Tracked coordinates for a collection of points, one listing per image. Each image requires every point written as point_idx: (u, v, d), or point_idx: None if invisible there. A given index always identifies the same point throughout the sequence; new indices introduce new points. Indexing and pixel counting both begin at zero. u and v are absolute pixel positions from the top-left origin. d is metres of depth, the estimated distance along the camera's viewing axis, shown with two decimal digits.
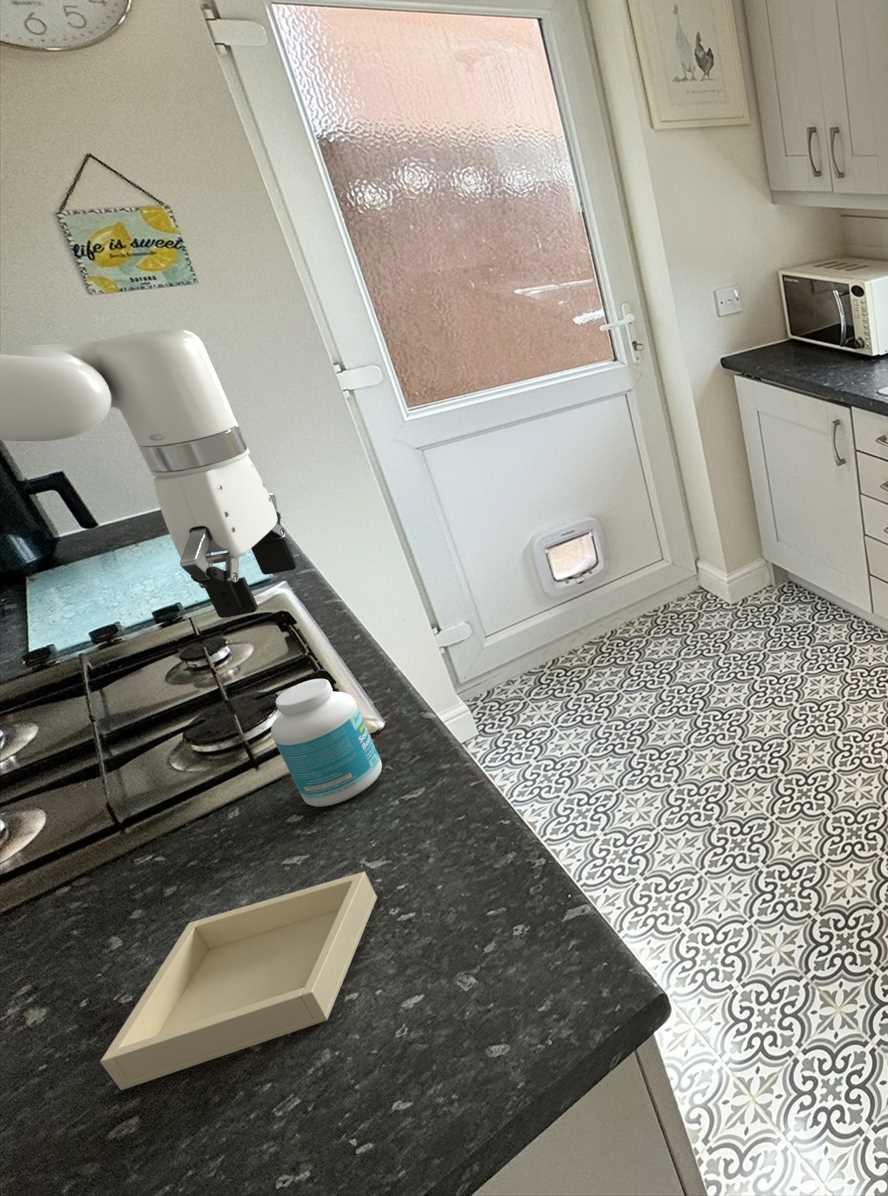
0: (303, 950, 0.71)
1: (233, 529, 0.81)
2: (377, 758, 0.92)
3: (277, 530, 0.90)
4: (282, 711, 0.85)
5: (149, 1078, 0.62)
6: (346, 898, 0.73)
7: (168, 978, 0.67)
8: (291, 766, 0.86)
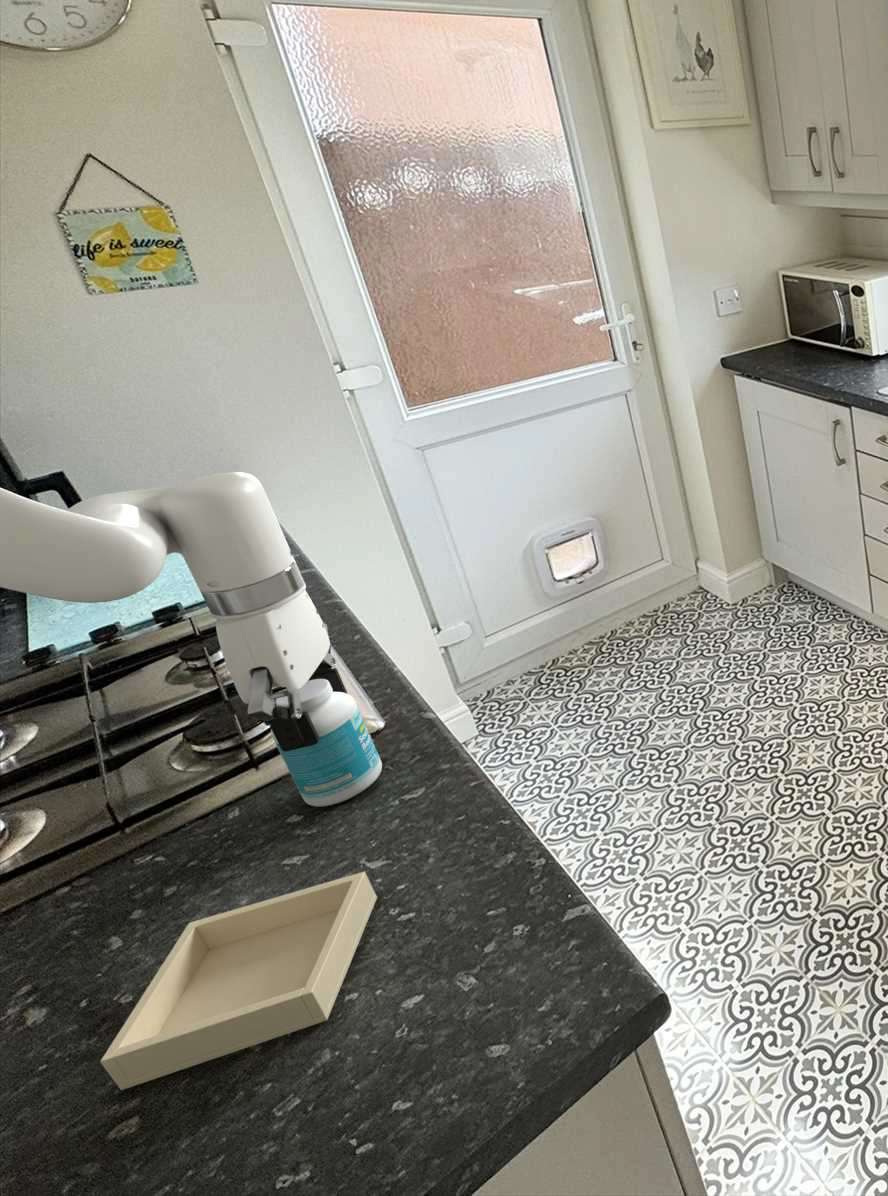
0: (303, 950, 0.71)
1: (291, 666, 0.82)
2: (377, 758, 0.92)
3: (328, 660, 0.90)
4: None
5: (149, 1078, 0.62)
6: (346, 898, 0.73)
7: (168, 978, 0.67)
8: (291, 766, 0.86)
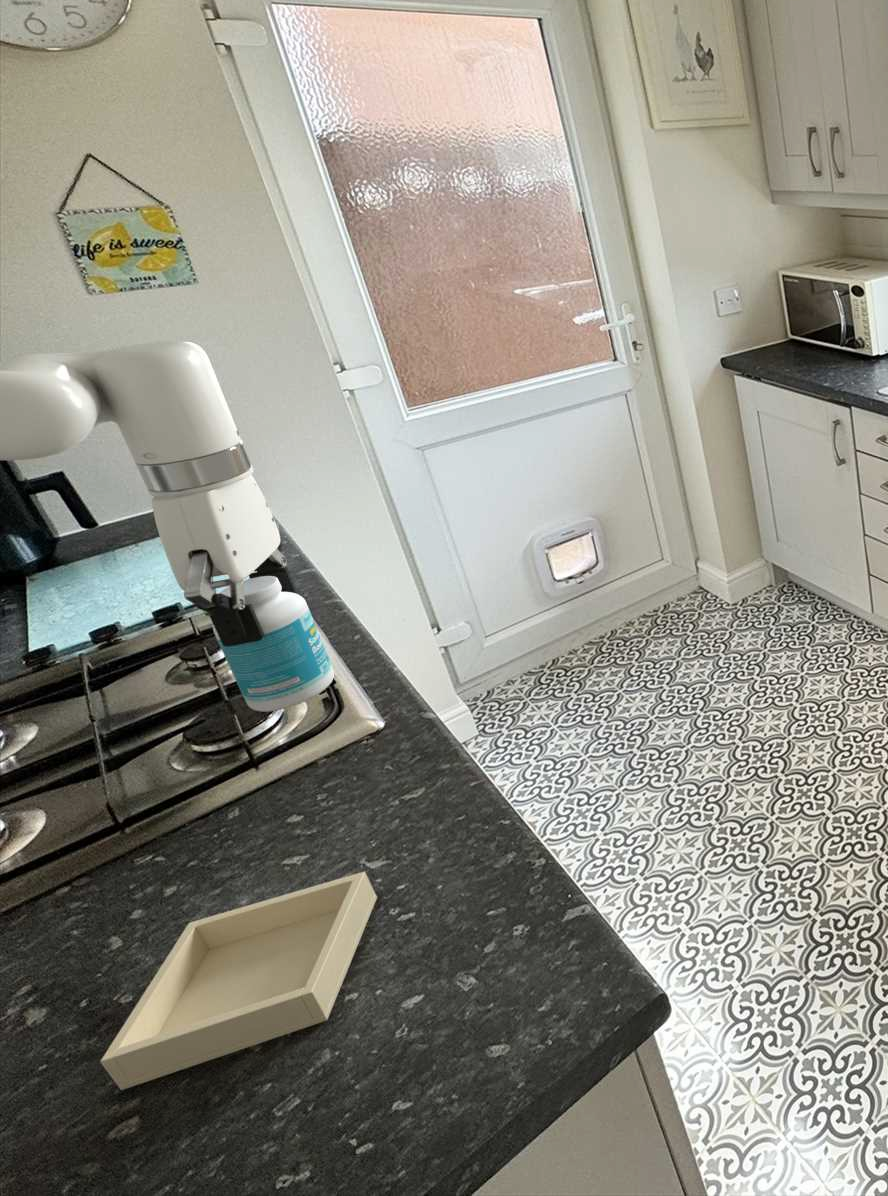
0: (303, 950, 0.71)
1: (234, 552, 0.77)
2: (329, 665, 0.87)
3: (278, 558, 0.85)
4: None
5: (149, 1078, 0.62)
6: (346, 898, 0.73)
7: (168, 978, 0.67)
8: (234, 665, 0.80)
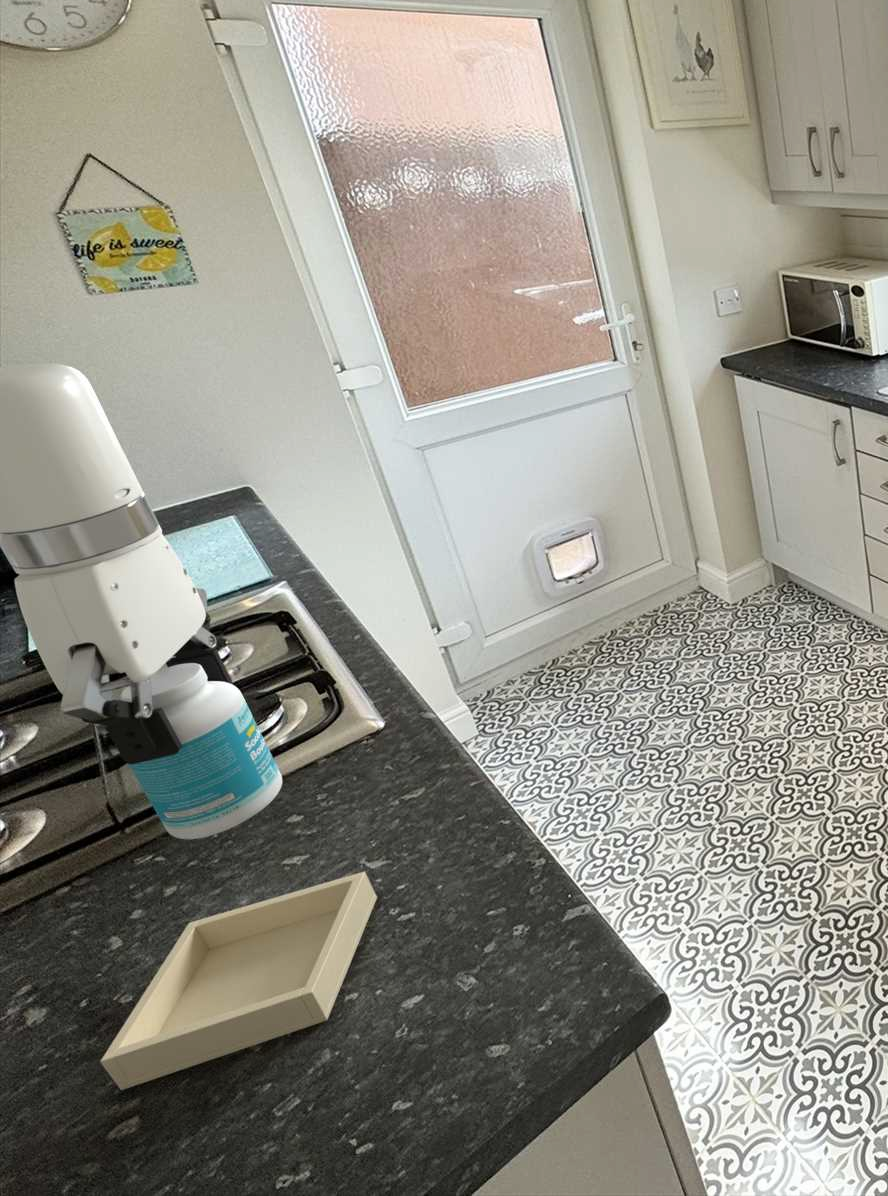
0: (303, 950, 0.71)
1: (135, 643, 0.58)
2: (274, 772, 0.68)
3: (204, 638, 0.66)
4: None
5: (149, 1078, 0.62)
6: (346, 898, 0.73)
7: (168, 978, 0.67)
8: (144, 784, 0.62)
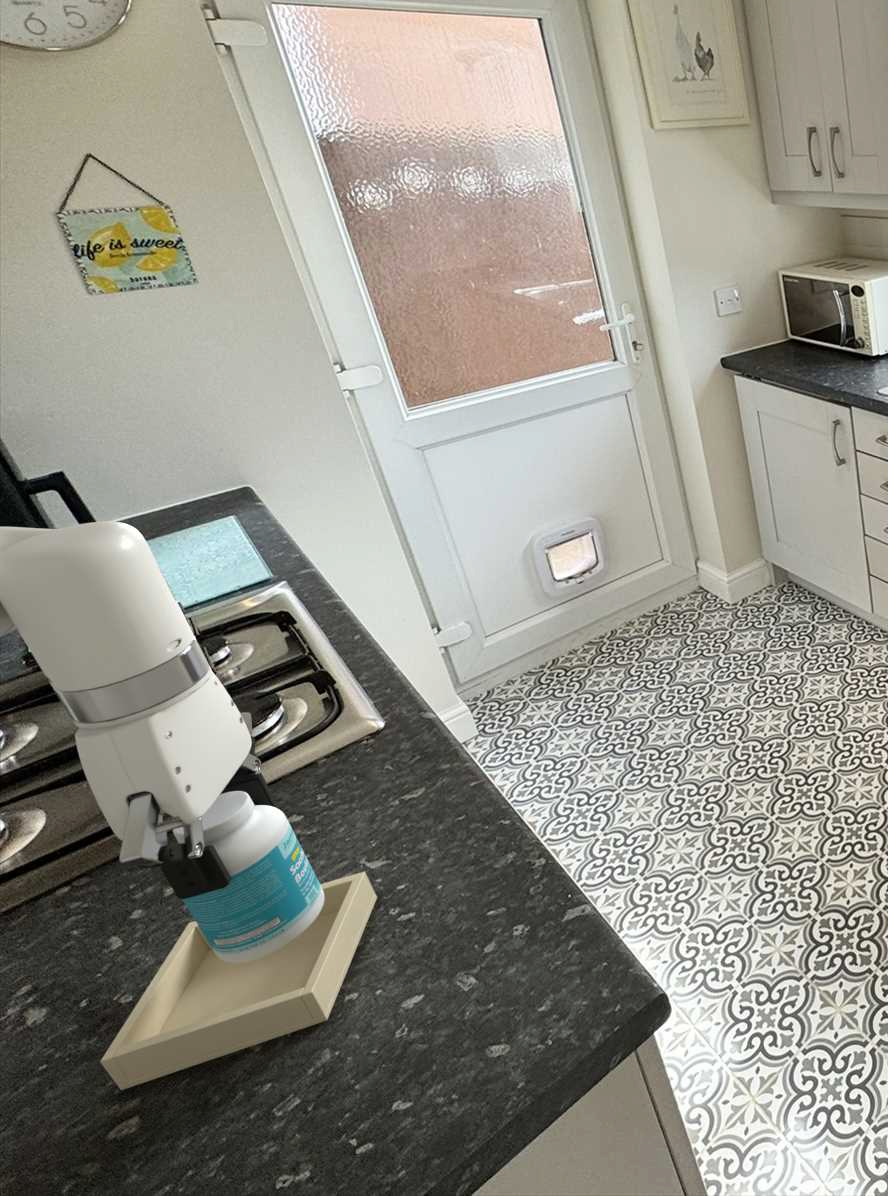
0: (303, 950, 0.71)
1: (188, 787, 0.59)
2: (317, 890, 0.70)
3: (250, 764, 0.68)
4: (181, 842, 0.62)
5: (149, 1078, 0.62)
6: (346, 898, 0.73)
7: (168, 978, 0.67)
8: (195, 914, 0.63)
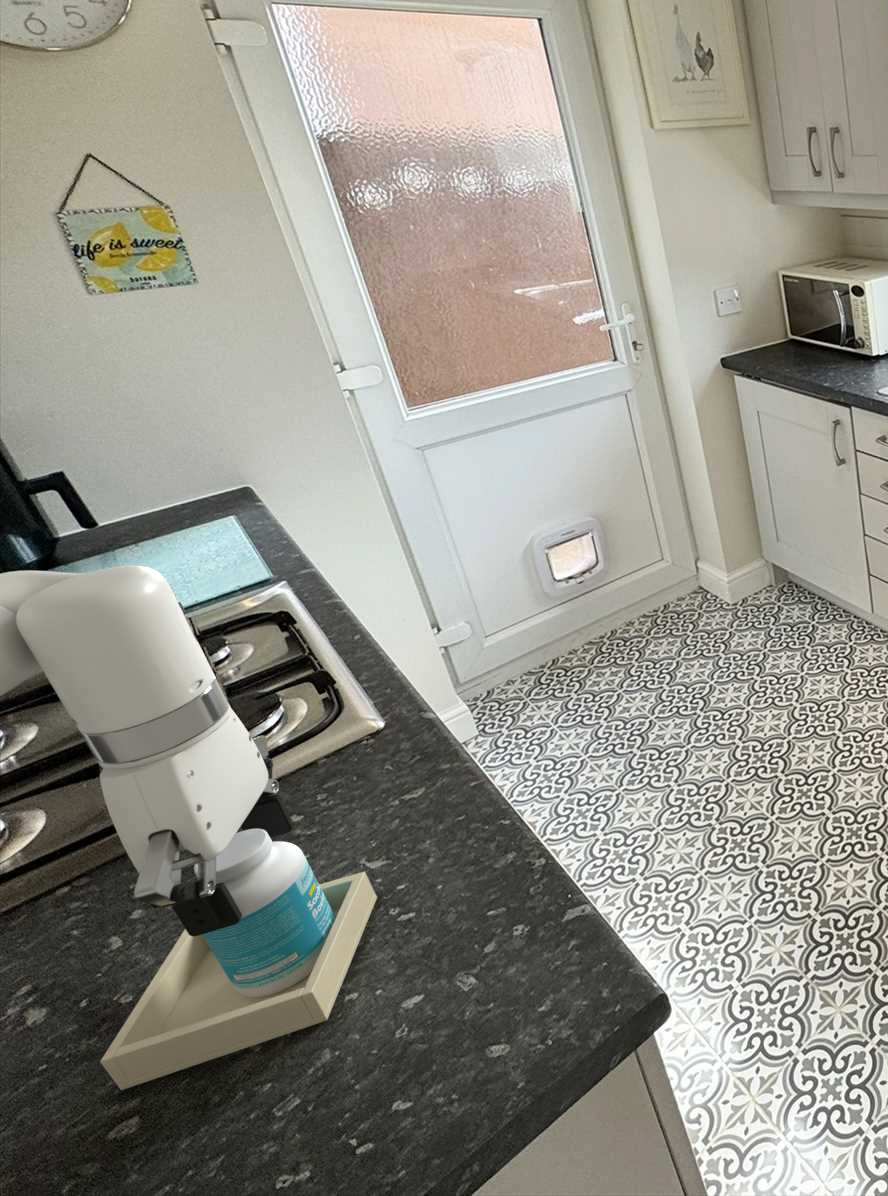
0: None
1: (208, 824, 0.61)
2: None
3: (268, 788, 0.70)
4: None
5: (149, 1078, 0.62)
6: (346, 898, 0.73)
7: (168, 978, 0.67)
8: (216, 950, 0.65)
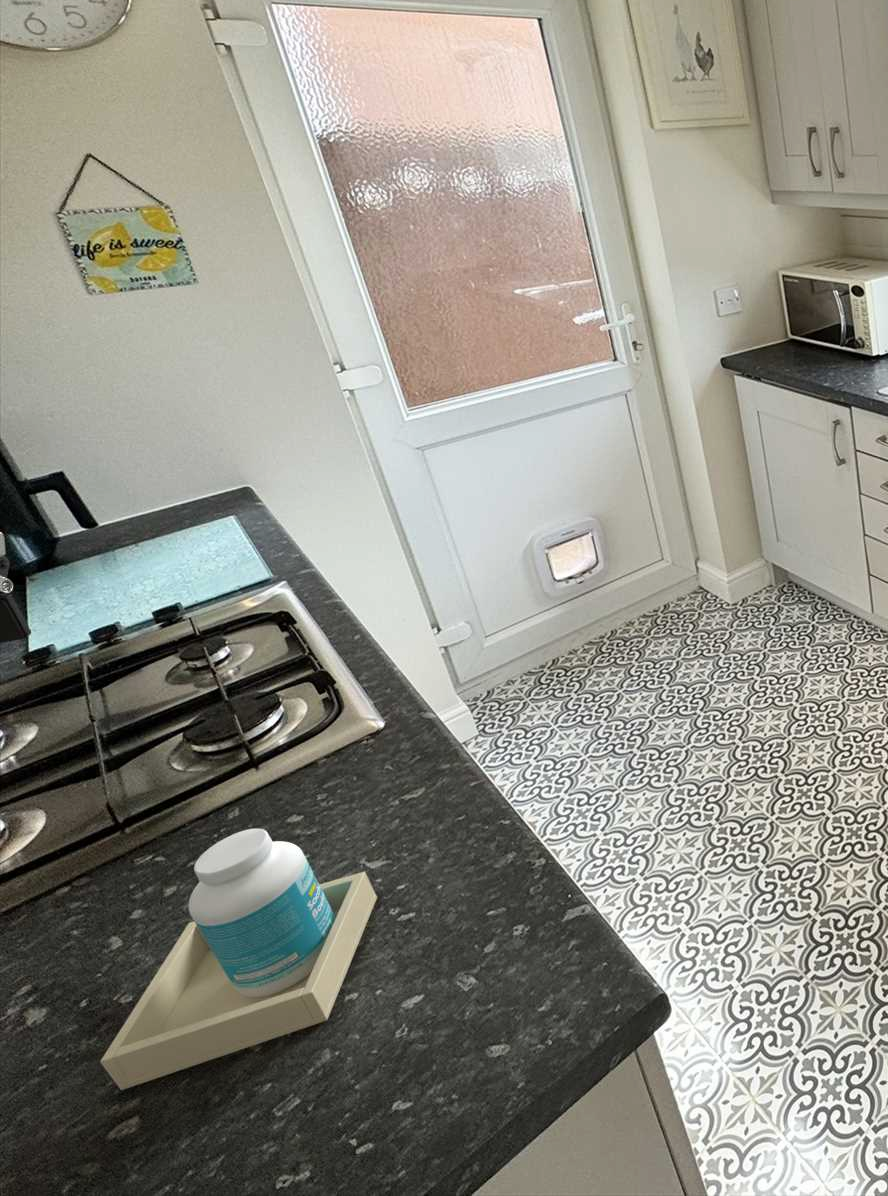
0: None
1: None
2: None
3: None
4: (202, 881, 0.64)
5: (149, 1078, 0.62)
6: (346, 898, 0.73)
7: (168, 978, 0.67)
8: (216, 950, 0.65)
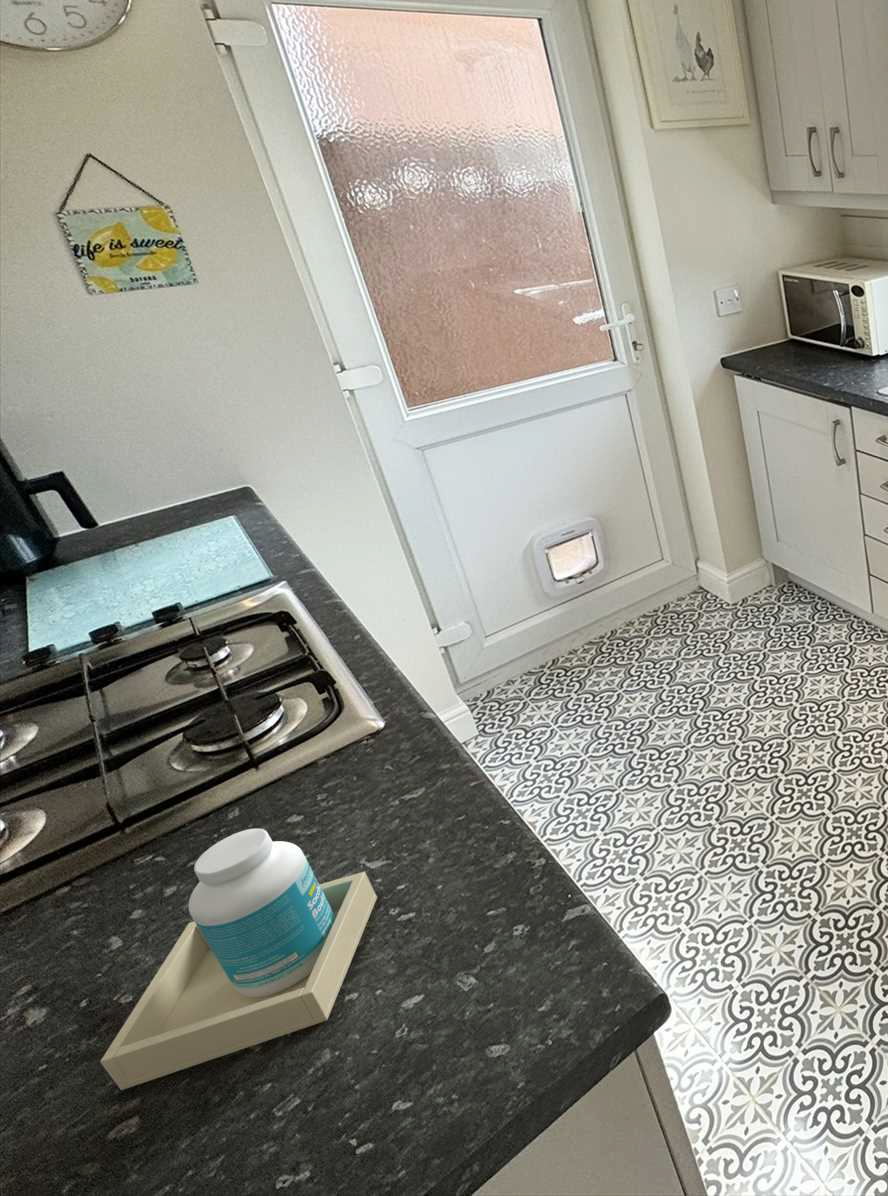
0: None
1: None
2: None
3: None
4: (202, 881, 0.64)
5: (149, 1078, 0.62)
6: (346, 898, 0.73)
7: (168, 978, 0.67)
8: (216, 950, 0.65)
